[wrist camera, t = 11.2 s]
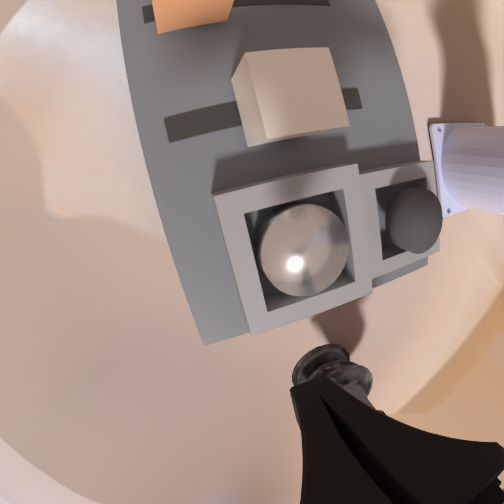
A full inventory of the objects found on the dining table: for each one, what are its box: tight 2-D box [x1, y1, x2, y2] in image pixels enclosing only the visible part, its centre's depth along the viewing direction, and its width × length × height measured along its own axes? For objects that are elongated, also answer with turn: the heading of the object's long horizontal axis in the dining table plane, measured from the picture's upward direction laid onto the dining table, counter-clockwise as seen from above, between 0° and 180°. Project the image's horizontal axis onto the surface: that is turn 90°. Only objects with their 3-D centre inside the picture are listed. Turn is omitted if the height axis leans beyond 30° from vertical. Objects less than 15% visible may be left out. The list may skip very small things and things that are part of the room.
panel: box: [117, 0, 439, 346], centre depth 15 cm, size 18×26×4 cm
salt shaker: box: [292, 344, 386, 415], centre depth 17 cm, size 6×6×12 cm
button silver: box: [255, 202, 349, 296], centre depth 16 cm, size 5×5×2 cm
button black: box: [385, 187, 443, 254], centre depth 16 cm, size 4×4×1 cm
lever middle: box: [231, 47, 350, 147], centre depth 13 cm, size 4×4×4 cm
